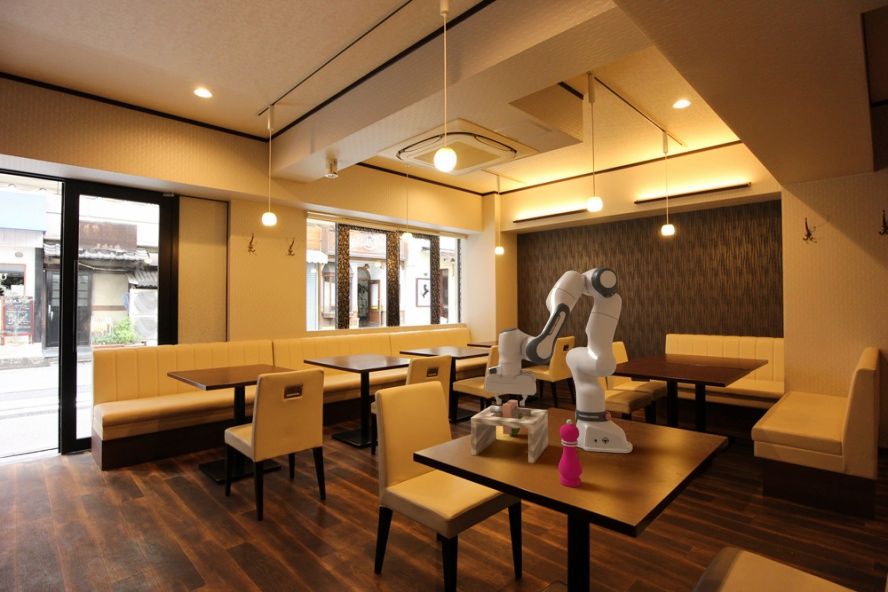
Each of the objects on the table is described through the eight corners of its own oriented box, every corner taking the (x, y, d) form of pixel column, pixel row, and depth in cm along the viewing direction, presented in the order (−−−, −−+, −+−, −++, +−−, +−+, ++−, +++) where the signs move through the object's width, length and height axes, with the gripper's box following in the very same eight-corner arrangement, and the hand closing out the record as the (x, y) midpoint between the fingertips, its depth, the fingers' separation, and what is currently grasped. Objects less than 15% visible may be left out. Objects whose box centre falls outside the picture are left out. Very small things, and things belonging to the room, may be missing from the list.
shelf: (548, 445, 184) (547, 404, 185) (533, 463, 162) (533, 417, 163) (491, 438, 194) (491, 399, 195) (471, 454, 173) (470, 411, 173)
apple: (501, 437, 195) (501, 410, 196) (503, 432, 204) (503, 406, 204) (522, 438, 194) (522, 411, 194) (523, 433, 202) (523, 407, 202)
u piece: (518, 428, 183) (517, 400, 183) (510, 434, 173) (510, 405, 174) (510, 427, 184) (510, 399, 184) (503, 433, 174) (502, 404, 175)
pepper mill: (555, 479, 147) (554, 417, 147) (577, 478, 147) (576, 416, 148) (563, 488, 140) (562, 422, 140) (586, 487, 140) (584, 421, 141)
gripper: (537, 369, 178) (538, 405, 177) (488, 367, 186) (488, 401, 186) (534, 371, 172) (534, 408, 172) (483, 369, 181) (483, 404, 180)
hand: (510, 404), depth 179 cm, fingers open, 8 cm apart
